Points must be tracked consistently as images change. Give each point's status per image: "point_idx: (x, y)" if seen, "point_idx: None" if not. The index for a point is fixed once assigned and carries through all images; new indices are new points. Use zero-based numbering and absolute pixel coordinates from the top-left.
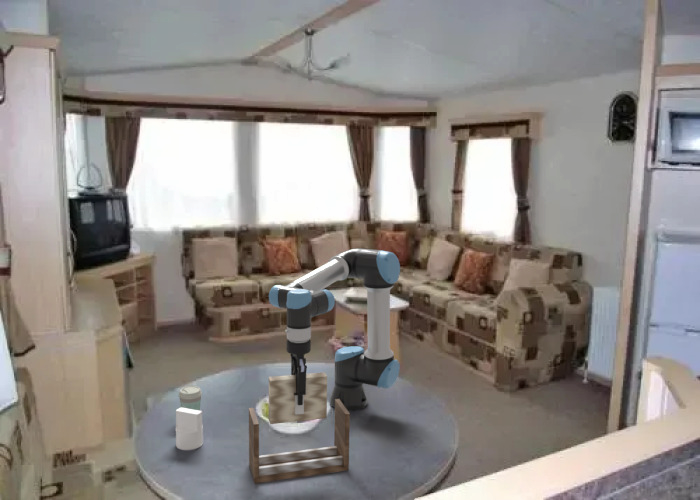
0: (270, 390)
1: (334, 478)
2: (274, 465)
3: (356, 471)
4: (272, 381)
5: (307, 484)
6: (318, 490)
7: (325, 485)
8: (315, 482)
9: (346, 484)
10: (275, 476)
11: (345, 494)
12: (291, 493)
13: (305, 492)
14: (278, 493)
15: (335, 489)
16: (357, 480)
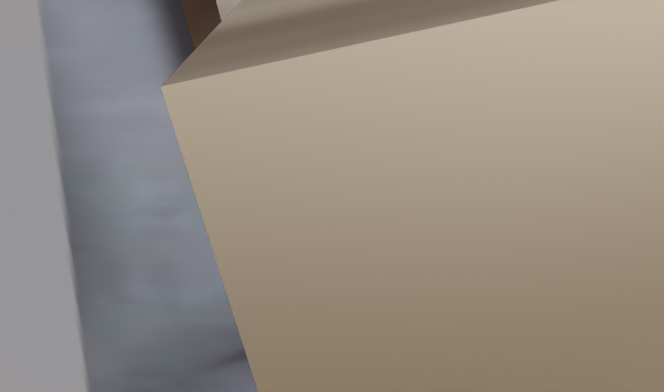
0: (231, 16)
1: (215, 299)
2: (231, 5)
3: None
4: (230, 230)
5: (155, 181)
6: (103, 231)
7: (151, 261)
8: (176, 218)
9: (165, 345)
10: (193, 10)
11: (81, 340)
12: (61, 103)
13: (78, 172)
14: (52, 32)
15: (119, 302)
16: (200, 385)
